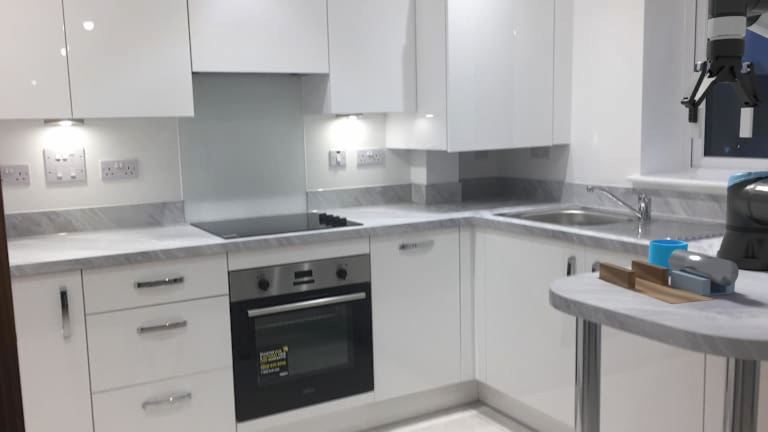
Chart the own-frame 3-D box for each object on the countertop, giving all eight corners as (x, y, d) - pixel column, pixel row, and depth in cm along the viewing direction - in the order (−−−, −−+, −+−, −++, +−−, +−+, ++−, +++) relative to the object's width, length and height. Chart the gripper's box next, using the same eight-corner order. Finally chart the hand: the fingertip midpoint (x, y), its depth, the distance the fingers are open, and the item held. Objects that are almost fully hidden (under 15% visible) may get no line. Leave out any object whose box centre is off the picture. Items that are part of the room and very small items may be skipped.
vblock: (699, 288, 149) (700, 268, 148) (736, 299, 140) (737, 277, 139) (668, 291, 147) (669, 270, 146) (703, 303, 137) (704, 280, 137)
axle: (665, 268, 148) (673, 246, 148) (682, 275, 150) (691, 253, 150) (714, 282, 135) (723, 257, 135) (733, 289, 137) (742, 265, 137)
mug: (679, 283, 155) (681, 246, 154) (642, 278, 160) (643, 242, 159) (696, 273, 164) (697, 239, 163) (660, 269, 169) (662, 236, 168)
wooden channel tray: (634, 280, 157) (635, 259, 156) (714, 306, 134) (715, 281, 134) (596, 284, 154) (596, 262, 154) (670, 311, 131) (672, 285, 131)
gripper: (757, 42, 159) (752, 136, 162) (666, 39, 152) (662, 138, 154) (785, 38, 152) (779, 137, 155) (690, 35, 145) (686, 138, 147)
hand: (720, 137), depth 154 cm, fingers open, 13 cm apart
